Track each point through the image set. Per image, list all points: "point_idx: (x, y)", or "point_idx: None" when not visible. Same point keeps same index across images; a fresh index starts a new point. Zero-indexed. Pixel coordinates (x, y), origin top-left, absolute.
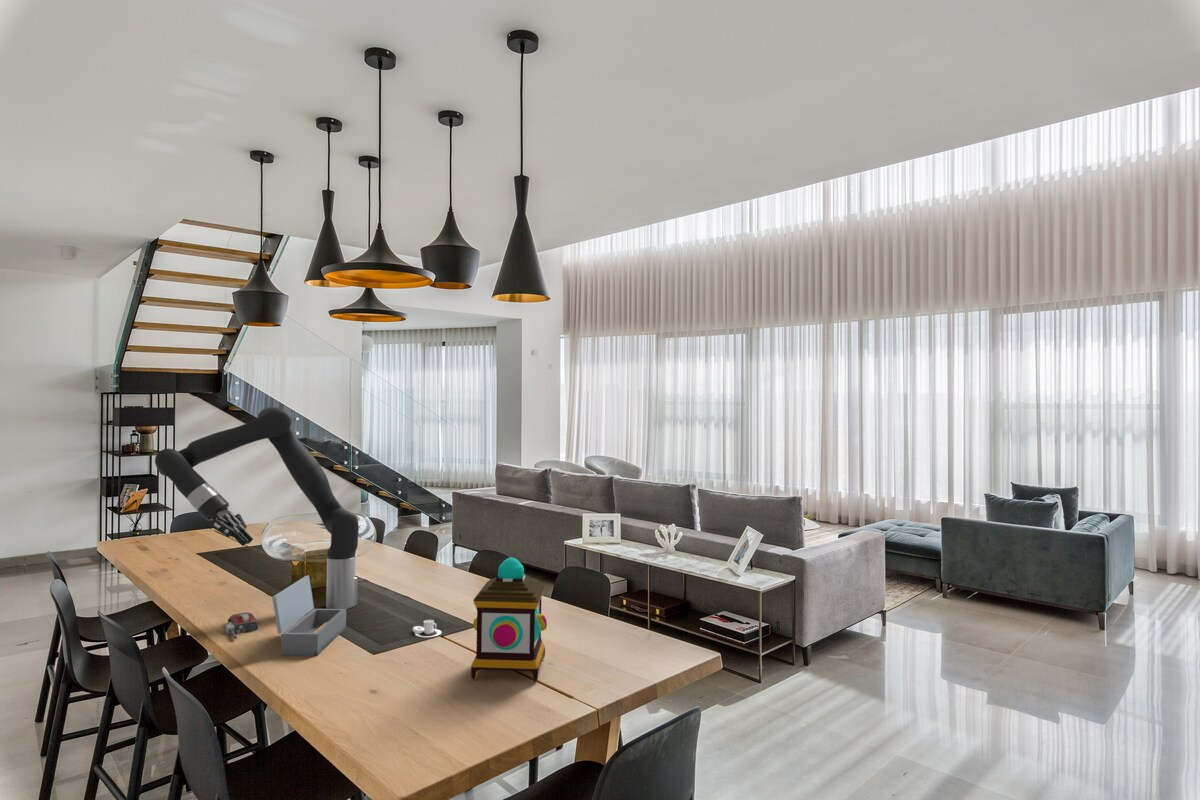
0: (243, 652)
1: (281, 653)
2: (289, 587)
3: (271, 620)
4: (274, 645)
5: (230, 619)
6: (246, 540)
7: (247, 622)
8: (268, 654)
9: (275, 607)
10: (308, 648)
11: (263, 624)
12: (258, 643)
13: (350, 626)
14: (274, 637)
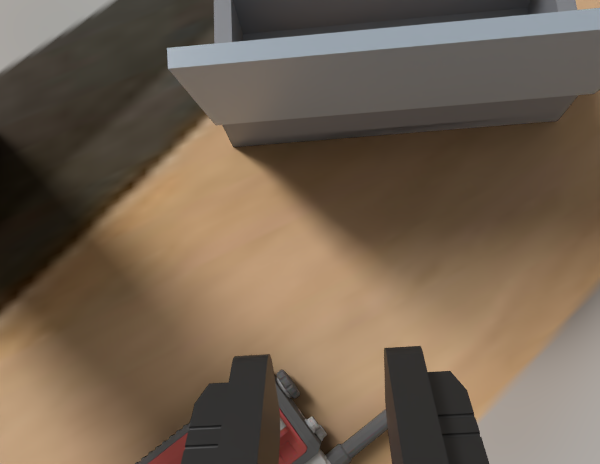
0: (549, 277)
1: (560, 116)
2: (473, 23)
3: (135, 371)
4: (452, 198)
5: None
6: (424, 360)
7: (285, 406)
8: (552, 172)
9: None
10: None
11: (193, 379)
12: (438, 272)
13: (208, 24)
14: (359, 245)
